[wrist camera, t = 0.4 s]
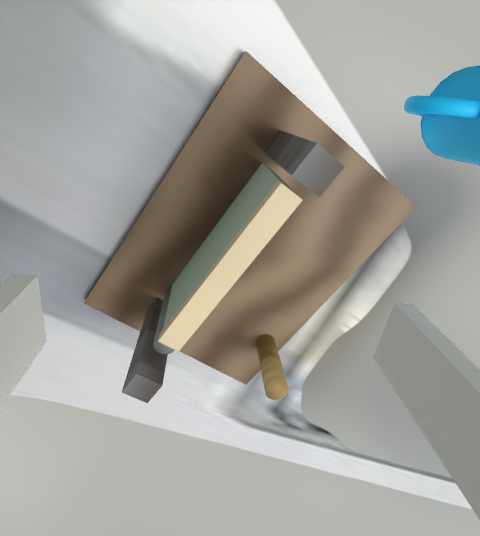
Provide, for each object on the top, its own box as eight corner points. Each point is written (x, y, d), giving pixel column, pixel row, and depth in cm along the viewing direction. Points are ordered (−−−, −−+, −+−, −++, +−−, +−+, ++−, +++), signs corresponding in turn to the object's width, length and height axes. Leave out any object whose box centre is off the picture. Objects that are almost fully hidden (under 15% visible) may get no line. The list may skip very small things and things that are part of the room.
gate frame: (86, 298, 38) (32, 383, 26) (244, 52, 29) (268, 16, 17) (245, 379, 45) (257, 473, 34) (411, 204, 36) (506, 251, 25)
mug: (518, 74, 31) (611, 64, 24) (480, 162, 35) (552, 177, 28) (400, 53, 30) (463, 36, 23) (373, 148, 33) (419, 160, 26)
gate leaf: (162, 295, 37) (146, 355, 28) (260, 161, 31) (281, 182, 22) (177, 303, 38) (167, 365, 29) (276, 173, 32) (302, 199, 23)
